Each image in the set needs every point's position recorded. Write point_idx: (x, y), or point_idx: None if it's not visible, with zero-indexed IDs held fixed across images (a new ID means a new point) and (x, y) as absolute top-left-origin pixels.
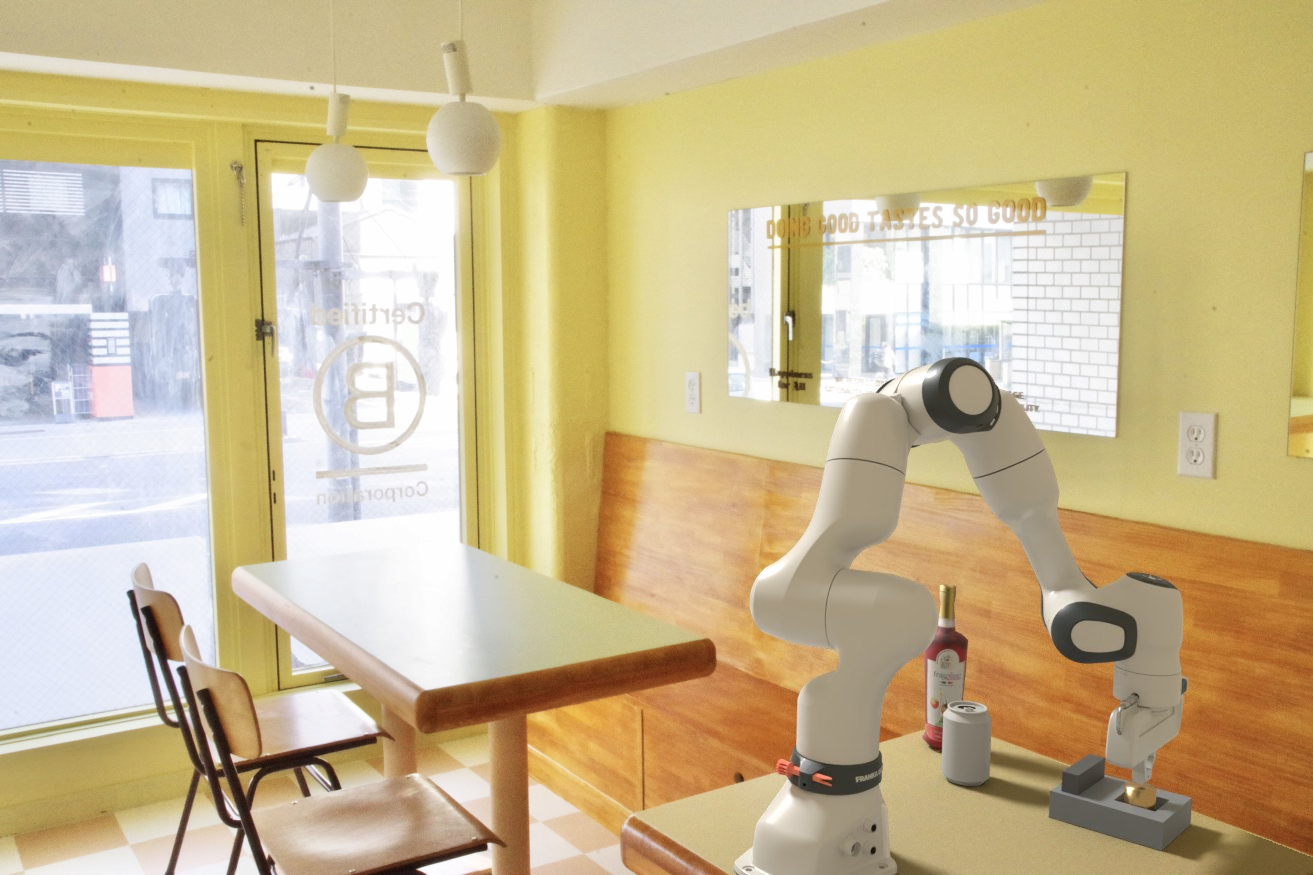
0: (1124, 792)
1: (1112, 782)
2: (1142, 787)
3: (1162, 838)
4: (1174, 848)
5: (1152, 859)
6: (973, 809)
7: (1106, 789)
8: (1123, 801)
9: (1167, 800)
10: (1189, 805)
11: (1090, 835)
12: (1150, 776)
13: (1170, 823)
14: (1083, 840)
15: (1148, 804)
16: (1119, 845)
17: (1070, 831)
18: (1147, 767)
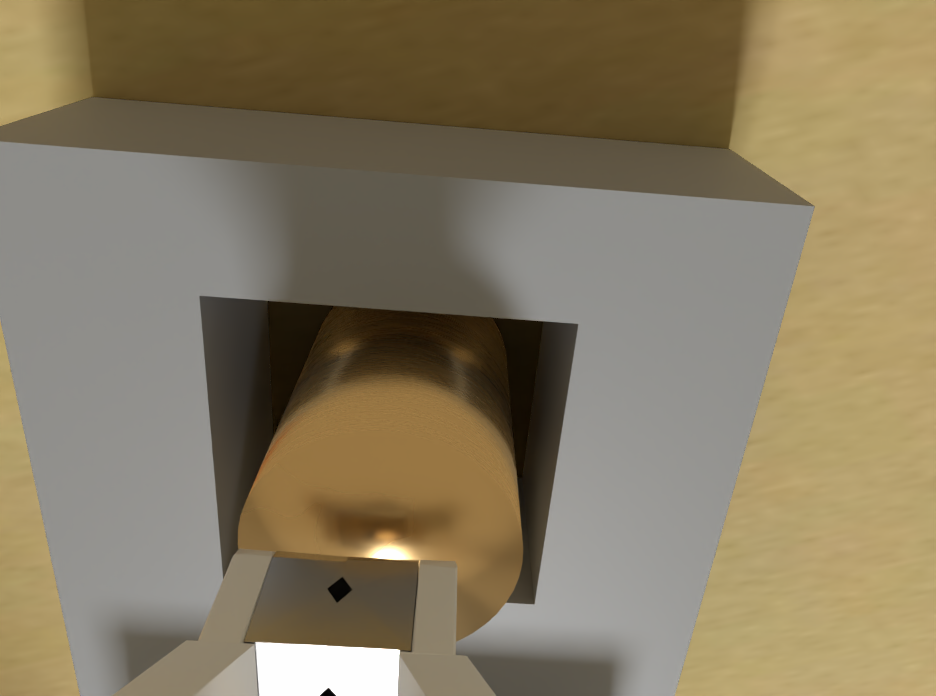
0: None
1: None
2: (392, 537)
3: (750, 168)
4: (630, 83)
5: (914, 161)
6: None
7: None
8: None
9: (207, 306)
10: (61, 132)
11: (722, 529)
12: (274, 568)
13: (585, 170)
14: (815, 537)
15: (477, 402)
16: (783, 379)
17: (726, 609)
18: (252, 675)
